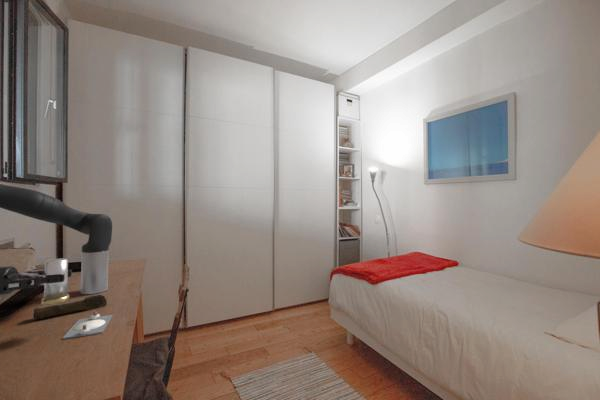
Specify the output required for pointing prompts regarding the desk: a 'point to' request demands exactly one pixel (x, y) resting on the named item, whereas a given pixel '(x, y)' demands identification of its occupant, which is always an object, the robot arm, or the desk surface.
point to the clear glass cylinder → (56, 291)
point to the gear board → (89, 326)
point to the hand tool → (70, 307)
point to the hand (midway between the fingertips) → (67, 275)
